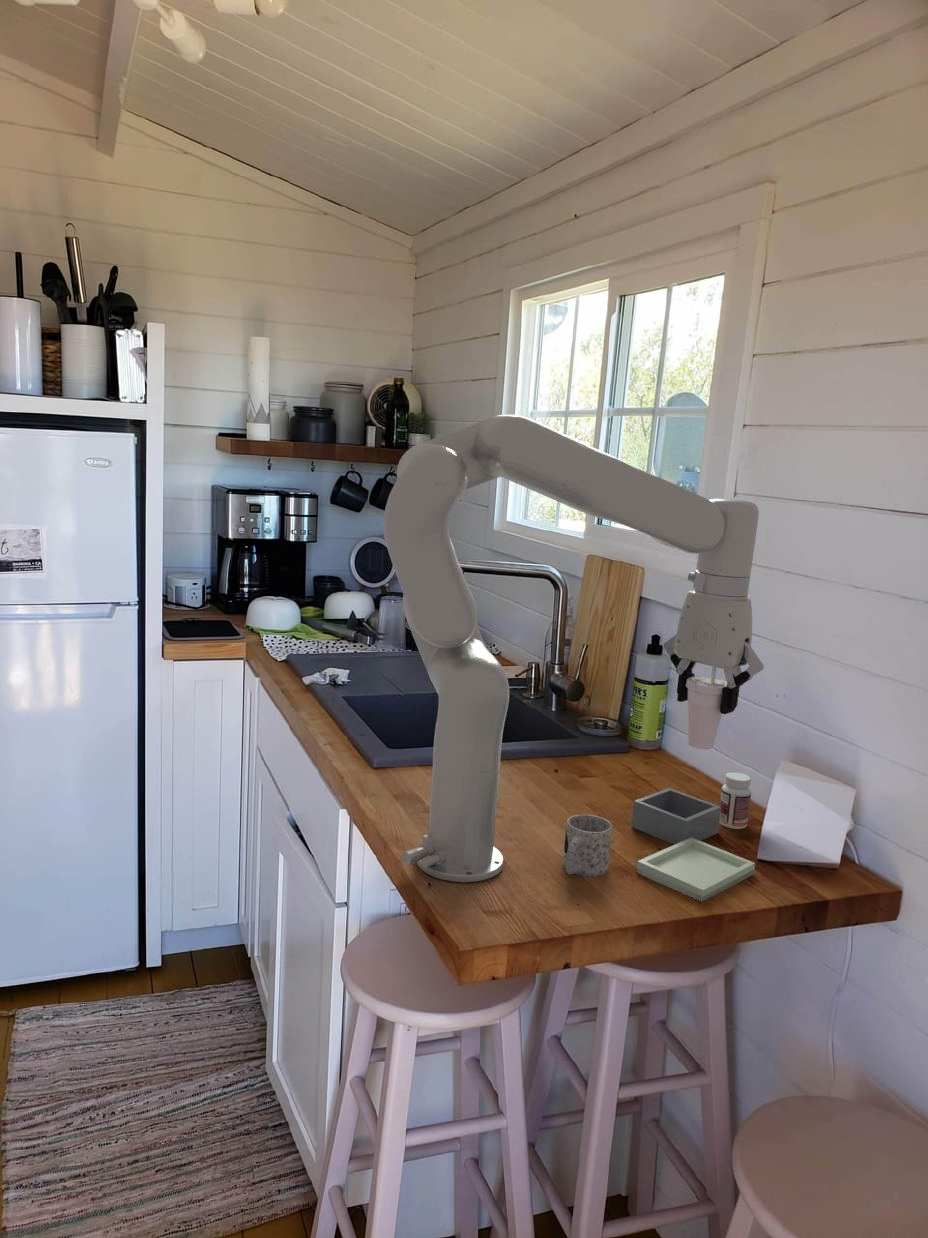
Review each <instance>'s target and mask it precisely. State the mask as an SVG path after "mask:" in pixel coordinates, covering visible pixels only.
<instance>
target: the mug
mask: <svg viewBox="0 0 928 1238" xmlns="http://www.w3.org/2000/svg"><path fill="white" fill-rule="evenodd" d="M565 825H566V826H565V836H564V837H565V838H564V847H563V857H562V859H563V860H562V867H563V868H564V869H565V873H567V874H568V875H573V874H575V875H576V876H577V875H579V876H583V877H599V876H603V875H605V874H606V873H607V872H608V871H609V864H610V856H611V855H610V854H611V846H612V833H613V824H612V822H610V821H609V820H608V819H606V818H604V817H602V816H598V815H593V814H575V815H571V816H570V817H568V818H567V820H566V824H565Z"/></svg>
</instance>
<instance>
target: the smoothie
mask: <svg viewBox="0 0 928 1238" xmlns="http://www.w3.org/2000/svg"><path fill="white" fill-rule="evenodd" d="M711 667H712V668H711V674H710V675H711V676H710V677H707V676H695V677H690V678H688V679H687V682H686V687H687V688H688V700H687V745H688V746H690V747H692V748H694V749H698V750H699V749H700V750H711V749H713V748H714V744H715V740H716V737H717V734H718V729H719V726H720V723H721V719H722V715H723V714H721V712H720V706H721V698H722V691H723V687H726V686H727V681H725V680H723V679H719V678H716V674H717V673H716V672H717V667H713V666H711Z"/></svg>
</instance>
